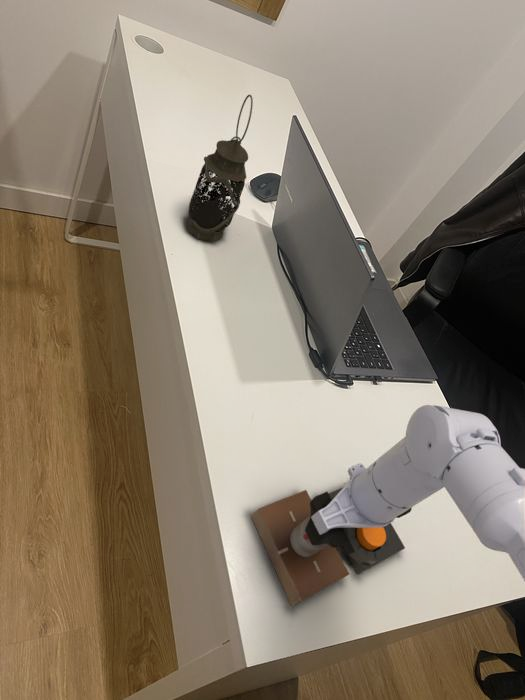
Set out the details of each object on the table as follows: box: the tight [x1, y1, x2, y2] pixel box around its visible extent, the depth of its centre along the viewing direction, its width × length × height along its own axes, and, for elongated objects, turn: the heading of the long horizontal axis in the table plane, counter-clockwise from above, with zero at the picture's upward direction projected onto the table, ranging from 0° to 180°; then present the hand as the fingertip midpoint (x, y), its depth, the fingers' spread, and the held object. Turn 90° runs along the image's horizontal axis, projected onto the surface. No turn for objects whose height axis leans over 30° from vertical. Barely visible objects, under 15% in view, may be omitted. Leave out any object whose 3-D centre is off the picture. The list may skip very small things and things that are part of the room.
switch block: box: [328, 487, 406, 575], centre depth 70 cm, size 11×9×4 cm
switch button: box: [356, 527, 386, 550], centre depth 67 cm, size 4×4×2 cm
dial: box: [290, 517, 327, 557], centre depth 63 cm, size 4×4×4 cm
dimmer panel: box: [251, 489, 350, 607], centre depth 65 cm, size 12×8×3 cm
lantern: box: [187, 94, 254, 243], centre depth 90 cm, size 10×9×28 cm
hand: (335, 525), depth 61 cm, fingers open, 7 cm apart
